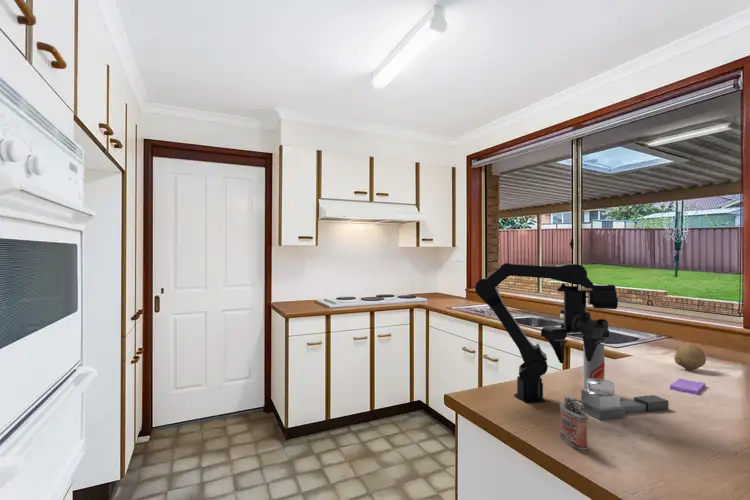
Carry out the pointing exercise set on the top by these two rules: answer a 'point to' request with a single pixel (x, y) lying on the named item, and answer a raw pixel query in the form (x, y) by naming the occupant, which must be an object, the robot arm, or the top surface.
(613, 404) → the grey square-based fixture
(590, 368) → the lotion bottle
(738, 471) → the top surface
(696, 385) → the sponges
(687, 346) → the potato
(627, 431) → the top surface
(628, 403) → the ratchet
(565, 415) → the lighter
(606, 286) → the robot arm
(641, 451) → the top surface
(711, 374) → the top surface
